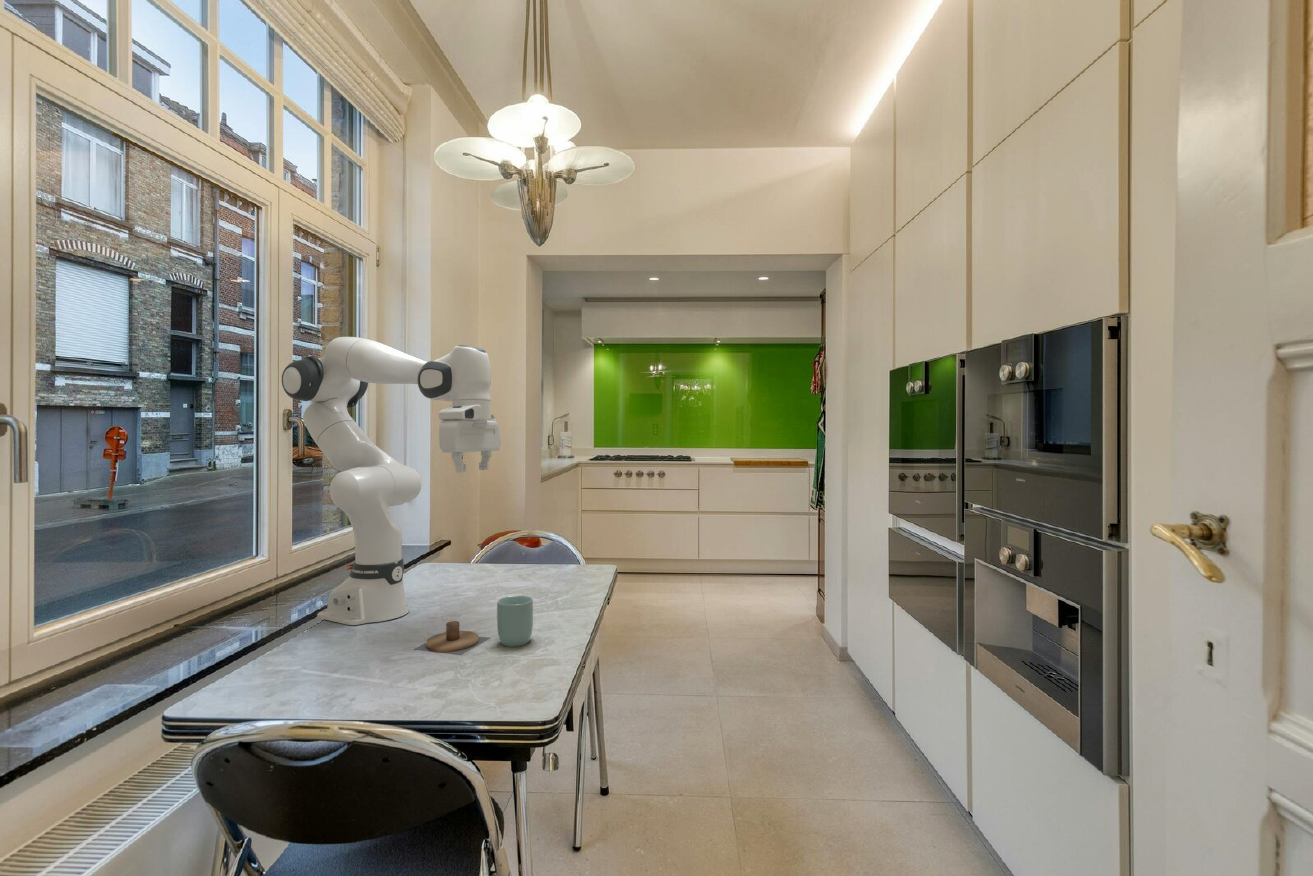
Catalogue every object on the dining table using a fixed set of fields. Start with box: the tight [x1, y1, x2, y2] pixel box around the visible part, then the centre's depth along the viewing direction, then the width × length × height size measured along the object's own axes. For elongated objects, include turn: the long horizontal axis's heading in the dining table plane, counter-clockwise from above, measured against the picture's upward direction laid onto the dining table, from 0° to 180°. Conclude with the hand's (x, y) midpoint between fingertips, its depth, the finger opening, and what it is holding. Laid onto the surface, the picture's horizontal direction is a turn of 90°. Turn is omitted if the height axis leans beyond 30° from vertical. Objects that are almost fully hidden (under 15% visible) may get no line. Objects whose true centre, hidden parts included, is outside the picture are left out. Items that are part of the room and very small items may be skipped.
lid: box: [425, 620, 479, 653], centre depth 131 cm, size 11×11×4 cm
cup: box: [496, 595, 534, 648], centre depth 131 cm, size 8×8×10 cm
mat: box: [413, 635, 491, 656], centre depth 131 cm, size 12×11×1 cm
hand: (472, 471), depth 141 cm, fingers open, 8 cm apart
